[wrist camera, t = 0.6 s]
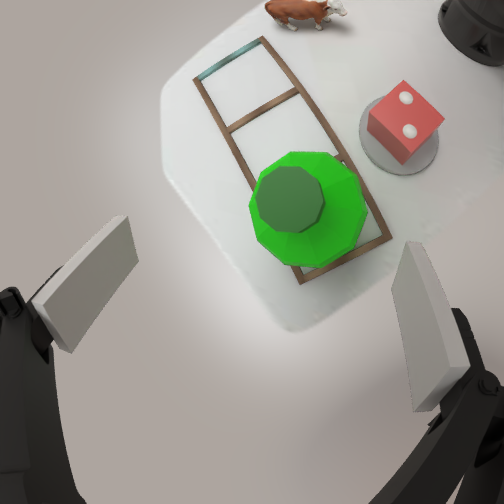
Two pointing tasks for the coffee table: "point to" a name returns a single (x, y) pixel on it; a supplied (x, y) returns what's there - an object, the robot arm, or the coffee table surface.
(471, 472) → the robot arm
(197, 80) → the walnut frame
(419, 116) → the red die stand
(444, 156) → the coffee table surface
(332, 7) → the bull figurine
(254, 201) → the plastic bottle
